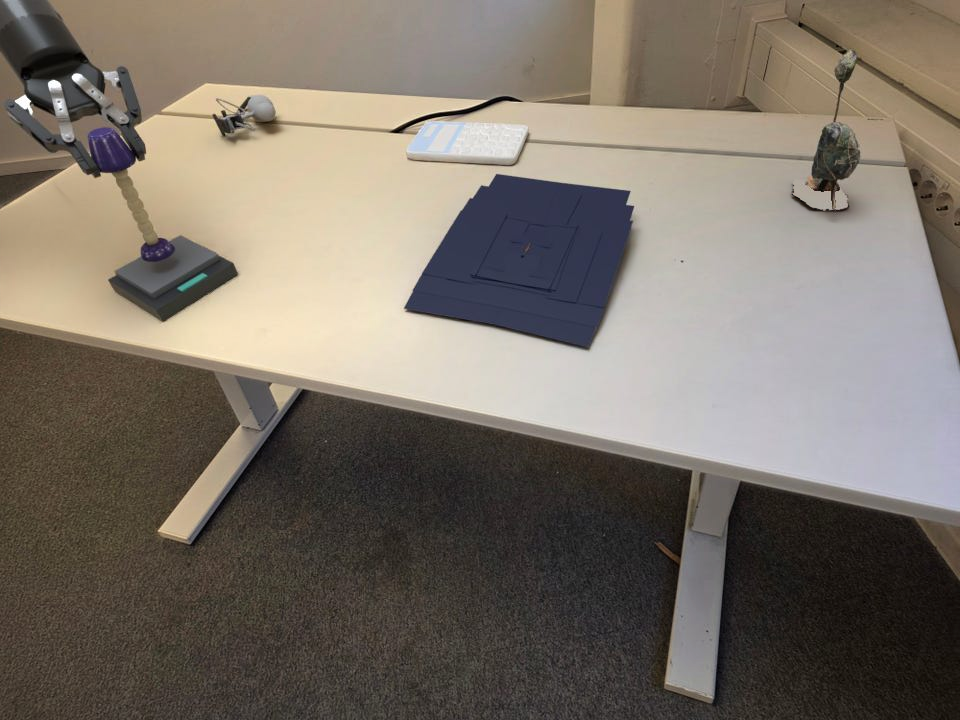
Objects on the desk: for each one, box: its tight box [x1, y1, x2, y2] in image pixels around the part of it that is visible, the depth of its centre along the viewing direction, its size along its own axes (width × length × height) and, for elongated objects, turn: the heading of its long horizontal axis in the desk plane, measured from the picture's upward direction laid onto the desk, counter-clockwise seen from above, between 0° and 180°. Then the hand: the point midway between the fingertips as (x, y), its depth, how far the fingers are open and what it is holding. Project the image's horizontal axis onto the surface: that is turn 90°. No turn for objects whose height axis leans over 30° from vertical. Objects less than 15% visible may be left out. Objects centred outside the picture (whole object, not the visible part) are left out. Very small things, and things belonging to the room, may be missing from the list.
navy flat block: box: [403, 173, 635, 348], centre depth 82 cm, size 24×30×4 cm
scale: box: [107, 234, 239, 322], centre depth 83 cm, size 12×12×3 cm
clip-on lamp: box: [211, 94, 277, 137], centre depth 121 cm, size 12×6×18 cm
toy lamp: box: [87, 126, 175, 262], centre depth 75 cm, size 5×5×17 cm
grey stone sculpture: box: [805, 49, 862, 209], centre depth 82 cm, size 8×11×20 cm
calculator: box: [405, 120, 530, 166], centre depth 109 cm, size 13×20×2 cm, turn 76°
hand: (119, 165), depth 71 cm, fingers closed on toy lamp, 4 cm apart
